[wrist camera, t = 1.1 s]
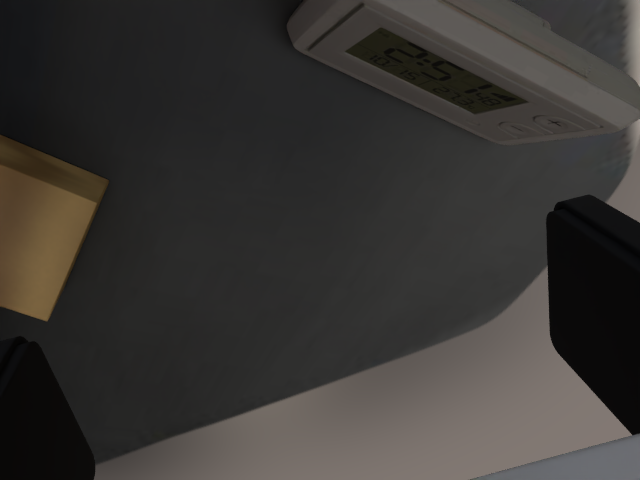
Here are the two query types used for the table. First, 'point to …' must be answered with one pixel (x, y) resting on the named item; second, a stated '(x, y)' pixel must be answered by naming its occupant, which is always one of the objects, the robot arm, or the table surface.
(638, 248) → the robot arm
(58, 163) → the maple block
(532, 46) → the digital clock
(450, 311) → the table surface
